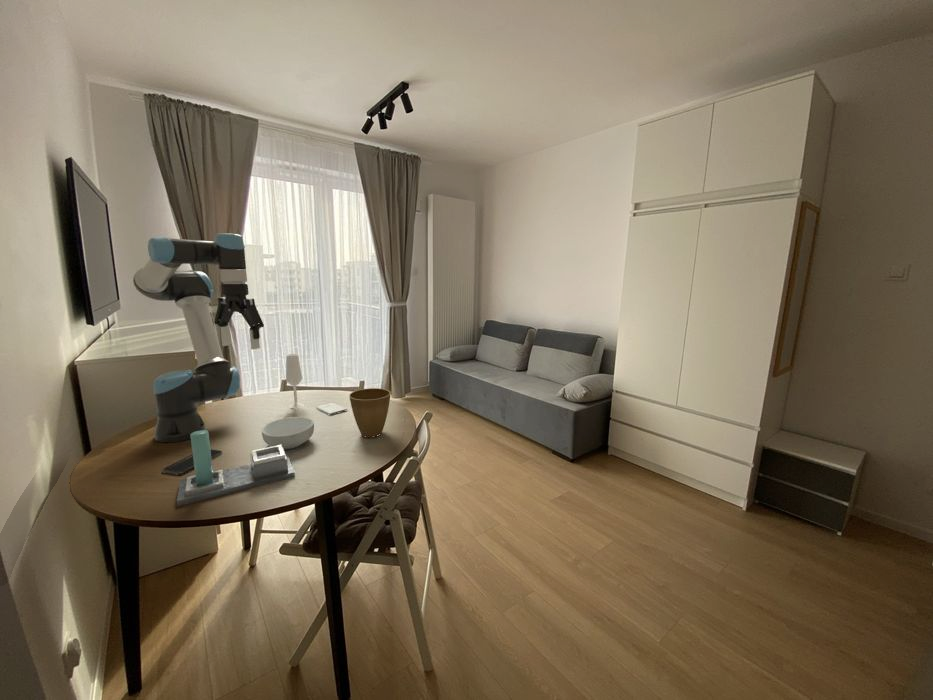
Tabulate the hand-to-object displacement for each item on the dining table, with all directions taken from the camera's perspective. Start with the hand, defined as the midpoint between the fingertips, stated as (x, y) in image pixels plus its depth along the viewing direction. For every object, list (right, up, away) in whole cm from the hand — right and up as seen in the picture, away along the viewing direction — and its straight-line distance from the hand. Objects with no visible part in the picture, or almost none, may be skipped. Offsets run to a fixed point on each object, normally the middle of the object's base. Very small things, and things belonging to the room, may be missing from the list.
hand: (241, 347), depth 128 cm
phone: (-11, -37, -7) cm, 39 cm away
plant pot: (+40, -33, +16) cm, 54 cm away
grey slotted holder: (+10, -39, -18) cm, 44 cm away
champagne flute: (-1, -27, +44) cm, 52 cm away
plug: (+3, -38, -22) cm, 44 cm away
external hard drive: (+16, -28, +41) cm, 52 cm away
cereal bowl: (+13, -35, +7) cm, 38 cm away
